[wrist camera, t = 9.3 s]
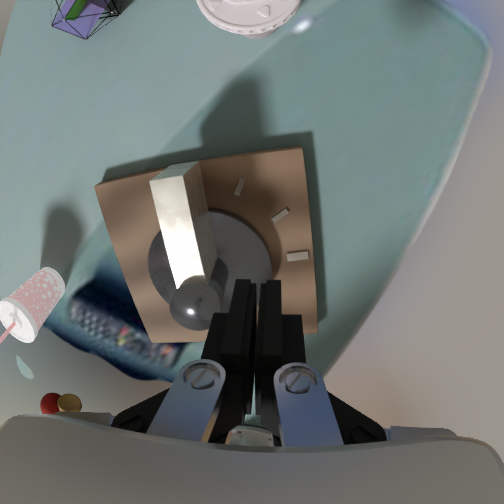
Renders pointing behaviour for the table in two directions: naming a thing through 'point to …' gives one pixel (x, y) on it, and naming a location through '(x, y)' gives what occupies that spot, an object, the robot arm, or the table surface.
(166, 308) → the dial plate
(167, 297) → the dial
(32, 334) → the beverage cup
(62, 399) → the kendama
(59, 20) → the geometric puzzle
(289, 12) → the smoothie
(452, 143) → the table surface
